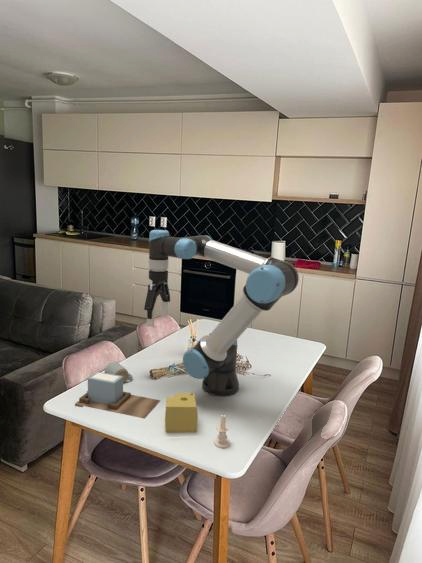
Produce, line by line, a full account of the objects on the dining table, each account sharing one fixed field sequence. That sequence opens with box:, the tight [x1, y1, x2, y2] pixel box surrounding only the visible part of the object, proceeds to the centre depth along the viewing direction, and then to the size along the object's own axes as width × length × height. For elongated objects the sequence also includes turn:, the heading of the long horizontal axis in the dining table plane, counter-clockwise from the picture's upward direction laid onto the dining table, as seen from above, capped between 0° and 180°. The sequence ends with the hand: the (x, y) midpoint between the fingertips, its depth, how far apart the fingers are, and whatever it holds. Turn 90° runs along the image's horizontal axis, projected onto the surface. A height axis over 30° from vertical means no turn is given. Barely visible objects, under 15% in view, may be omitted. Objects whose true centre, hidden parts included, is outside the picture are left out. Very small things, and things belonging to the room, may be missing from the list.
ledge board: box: [74, 390, 161, 419], centre depth 158 cm, size 28×14×3 cm, turn 73°
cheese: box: [164, 392, 199, 433], centre depth 144 cm, size 10×11×10 cm
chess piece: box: [213, 413, 231, 449], centre depth 135 cm, size 5×5×10 cm
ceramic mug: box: [103, 361, 134, 384], centre depth 176 cm, size 11×8×8 cm
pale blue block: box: [87, 371, 124, 405], centre depth 159 cm, size 11×6×9 cm, turn 74°
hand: (157, 321), depth 171 cm, fingers open, 13 cm apart
